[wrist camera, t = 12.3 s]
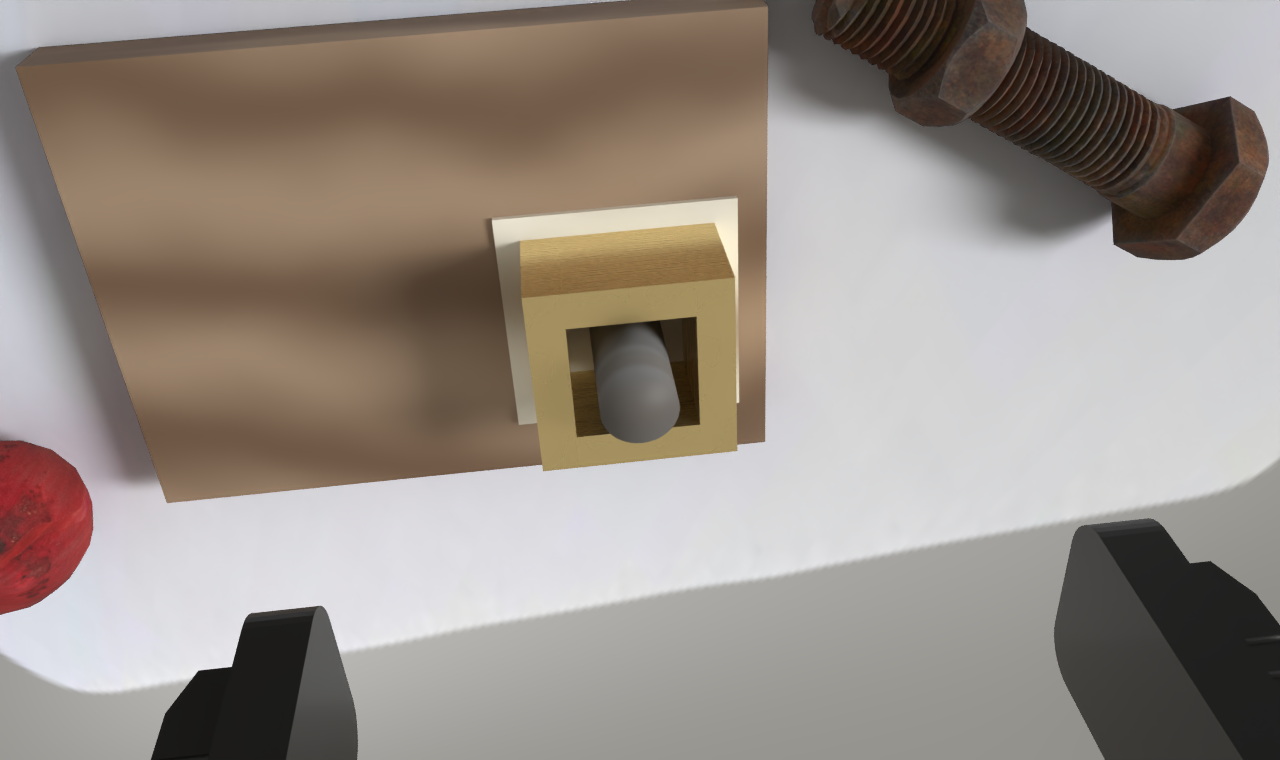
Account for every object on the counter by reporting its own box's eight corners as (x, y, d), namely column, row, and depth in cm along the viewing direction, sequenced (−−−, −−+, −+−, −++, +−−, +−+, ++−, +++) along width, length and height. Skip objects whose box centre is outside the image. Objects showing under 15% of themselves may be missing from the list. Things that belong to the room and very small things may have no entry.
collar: (519, 240, 37) (521, 297, 34) (714, 222, 38) (735, 277, 34) (539, 404, 41) (543, 471, 37) (718, 386, 41) (737, 450, 38)
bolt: (822, -66, 37) (1166, 135, 42) (764, 75, 37) (1117, 263, 41) (916, -132, 32) (1301, 109, 36) (850, 34, 31) (1246, 256, 36)
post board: (39, 47, 35) (-74, 140, 28) (755, -10, 36) (813, 66, 29) (180, 470, 43) (120, 619, 36) (754, 412, 45) (800, 546, 38)
